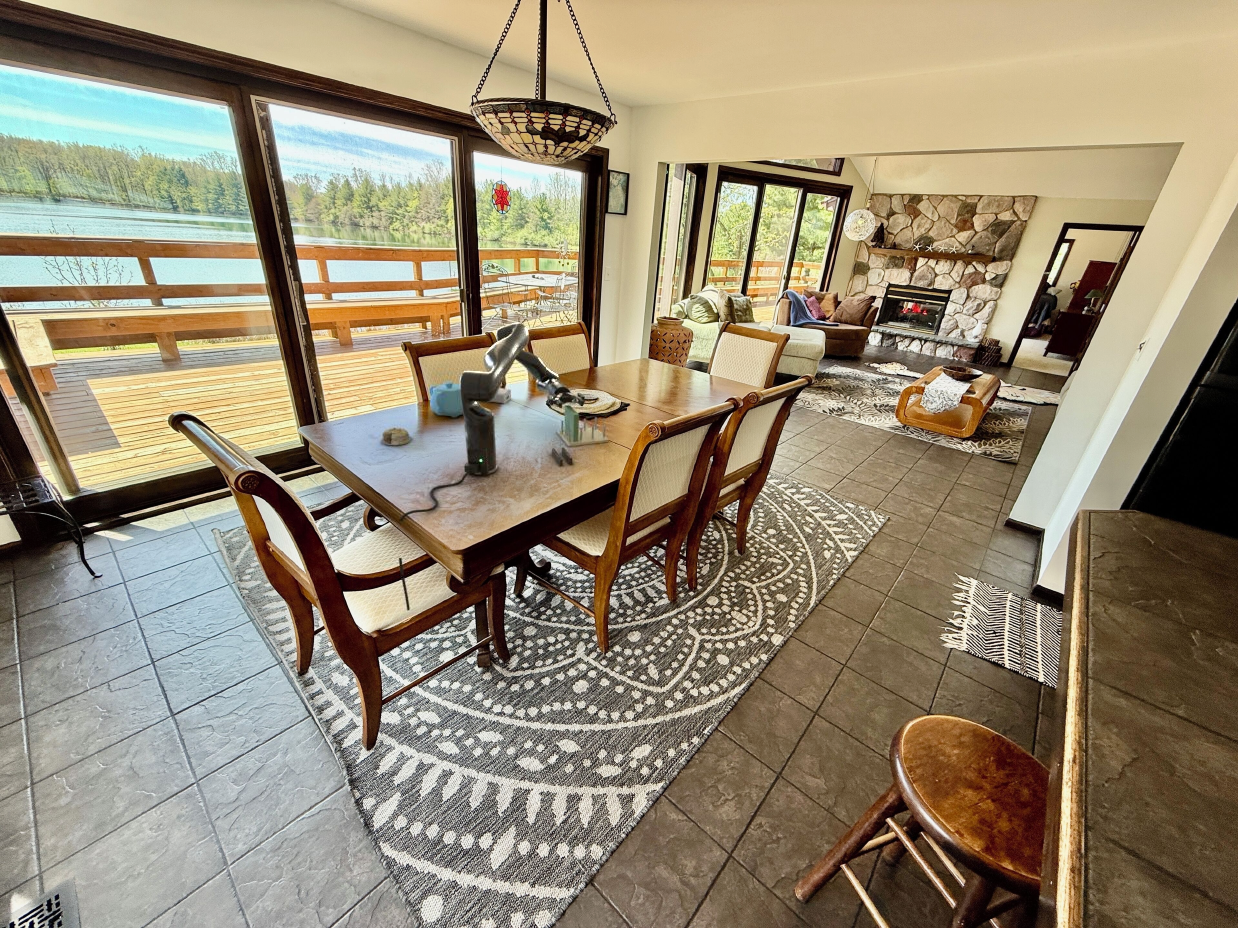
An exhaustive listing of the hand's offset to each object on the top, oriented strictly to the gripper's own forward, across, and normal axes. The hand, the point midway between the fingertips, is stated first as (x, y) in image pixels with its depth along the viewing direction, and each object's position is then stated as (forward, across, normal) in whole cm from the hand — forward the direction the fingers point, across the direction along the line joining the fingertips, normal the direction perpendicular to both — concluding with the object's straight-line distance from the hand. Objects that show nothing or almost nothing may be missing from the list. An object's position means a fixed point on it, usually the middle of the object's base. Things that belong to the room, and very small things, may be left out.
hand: (571, 404), depth 183 cm
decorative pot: (-41, -40, +14) cm, 59 cm away
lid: (0, 0, +13) cm, 13 cm away
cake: (-16, -63, +14) cm, 66 cm away
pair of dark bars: (+17, -9, +14) cm, 24 cm away
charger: (-55, -20, +14) cm, 60 cm away
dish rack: (0, +5, +14) cm, 15 cm away
